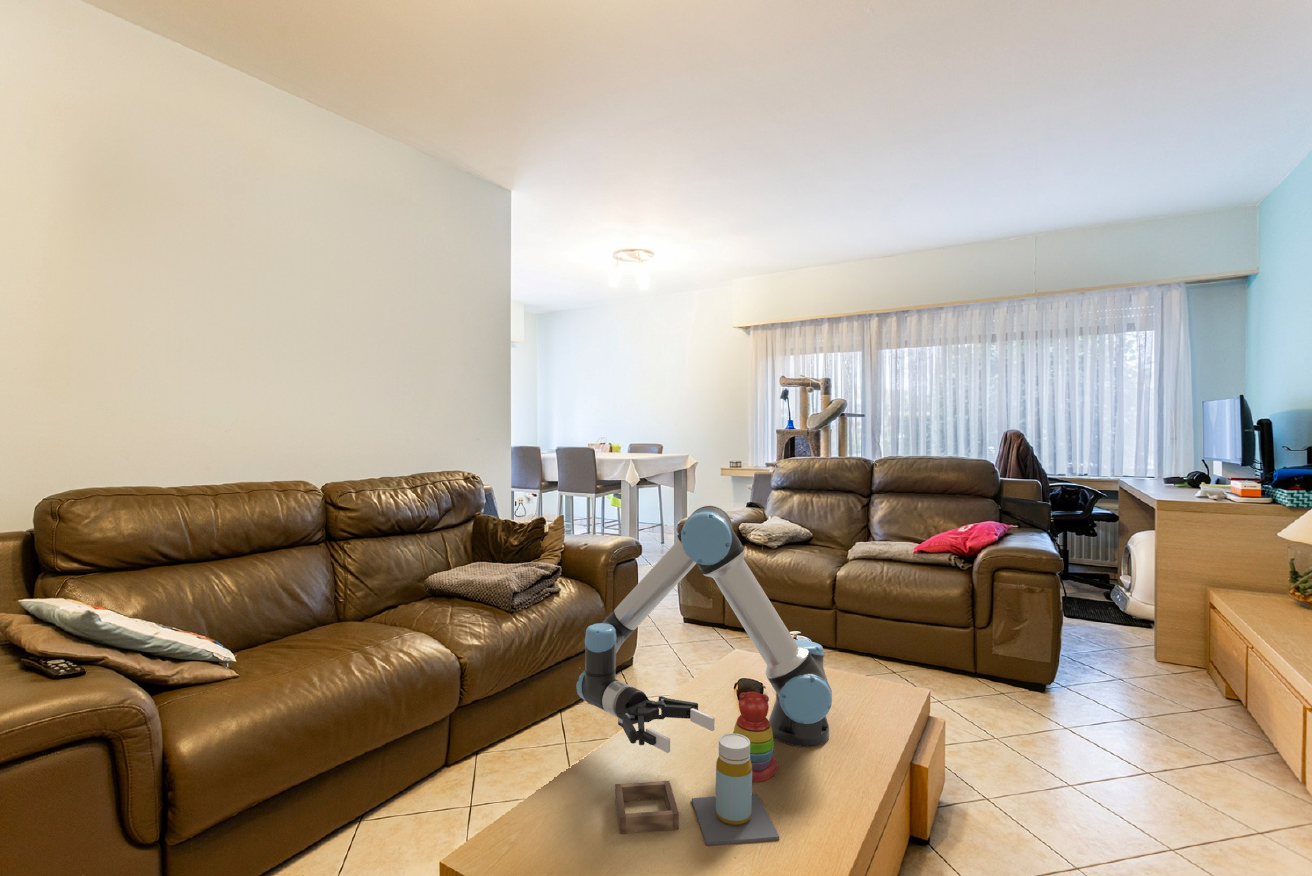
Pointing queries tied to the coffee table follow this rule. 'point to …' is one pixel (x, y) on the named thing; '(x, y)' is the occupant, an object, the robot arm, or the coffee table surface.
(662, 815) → the walnut collar
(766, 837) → the charcoal mat
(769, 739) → the stacking bear
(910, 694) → the coffee table surface
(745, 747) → the bottle
